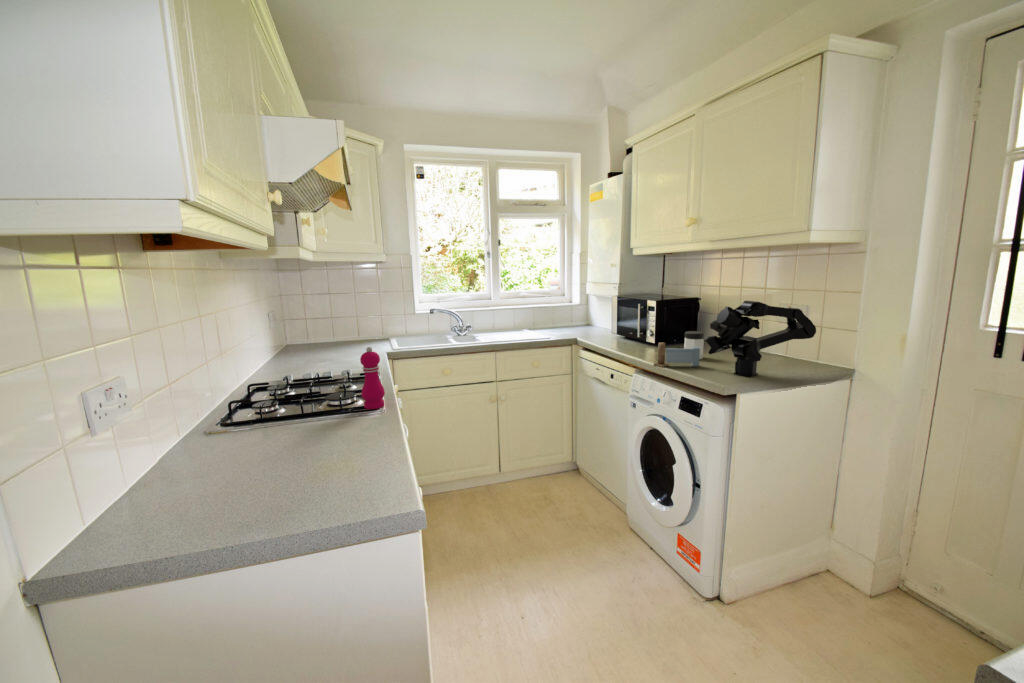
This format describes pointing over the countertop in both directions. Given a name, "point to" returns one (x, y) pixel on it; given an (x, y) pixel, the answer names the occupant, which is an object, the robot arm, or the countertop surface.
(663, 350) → the hinge post
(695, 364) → the gate
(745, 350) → the robot arm
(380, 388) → the pepper mill
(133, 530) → the countertop surface
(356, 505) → the countertop surface
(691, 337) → the jar
